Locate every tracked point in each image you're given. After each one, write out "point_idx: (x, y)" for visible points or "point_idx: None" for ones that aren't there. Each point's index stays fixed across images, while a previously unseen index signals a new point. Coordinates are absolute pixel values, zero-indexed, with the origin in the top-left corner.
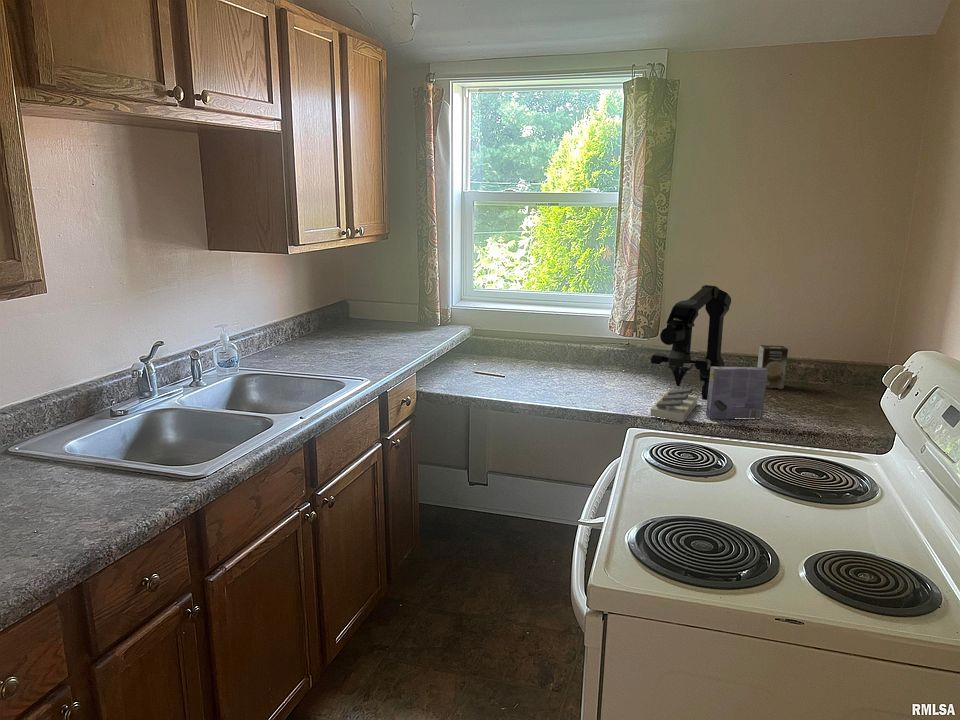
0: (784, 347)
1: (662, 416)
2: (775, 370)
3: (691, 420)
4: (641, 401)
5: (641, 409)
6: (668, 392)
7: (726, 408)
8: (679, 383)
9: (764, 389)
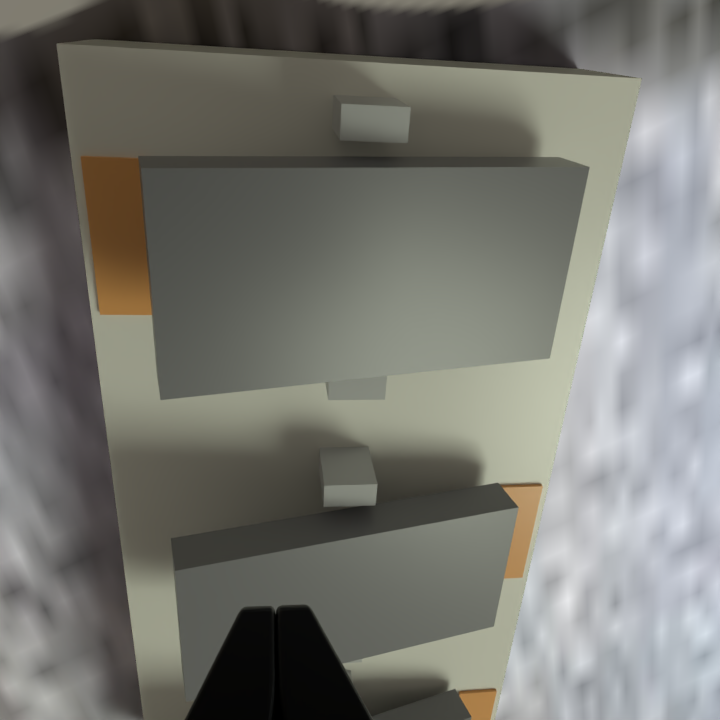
0: None
1: (419, 60)
2: None
3: (24, 200)
4: (679, 574)
5: (686, 342)
6: None
7: None
8: (230, 669)
9: None
